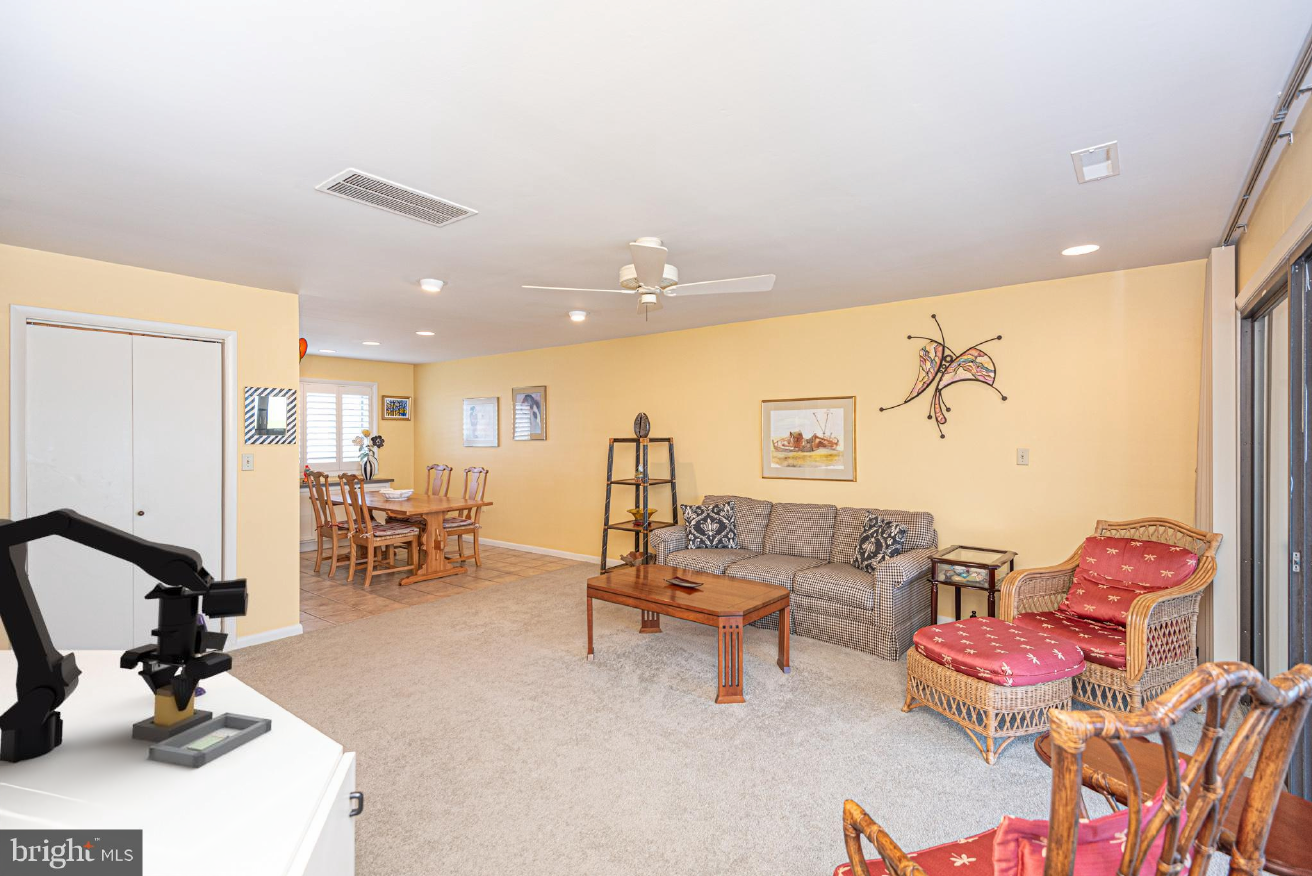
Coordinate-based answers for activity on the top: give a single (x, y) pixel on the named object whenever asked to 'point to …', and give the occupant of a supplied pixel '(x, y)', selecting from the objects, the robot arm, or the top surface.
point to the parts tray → (175, 754)
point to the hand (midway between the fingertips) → (174, 709)
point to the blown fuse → (170, 707)
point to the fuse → (207, 742)
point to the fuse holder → (168, 727)
